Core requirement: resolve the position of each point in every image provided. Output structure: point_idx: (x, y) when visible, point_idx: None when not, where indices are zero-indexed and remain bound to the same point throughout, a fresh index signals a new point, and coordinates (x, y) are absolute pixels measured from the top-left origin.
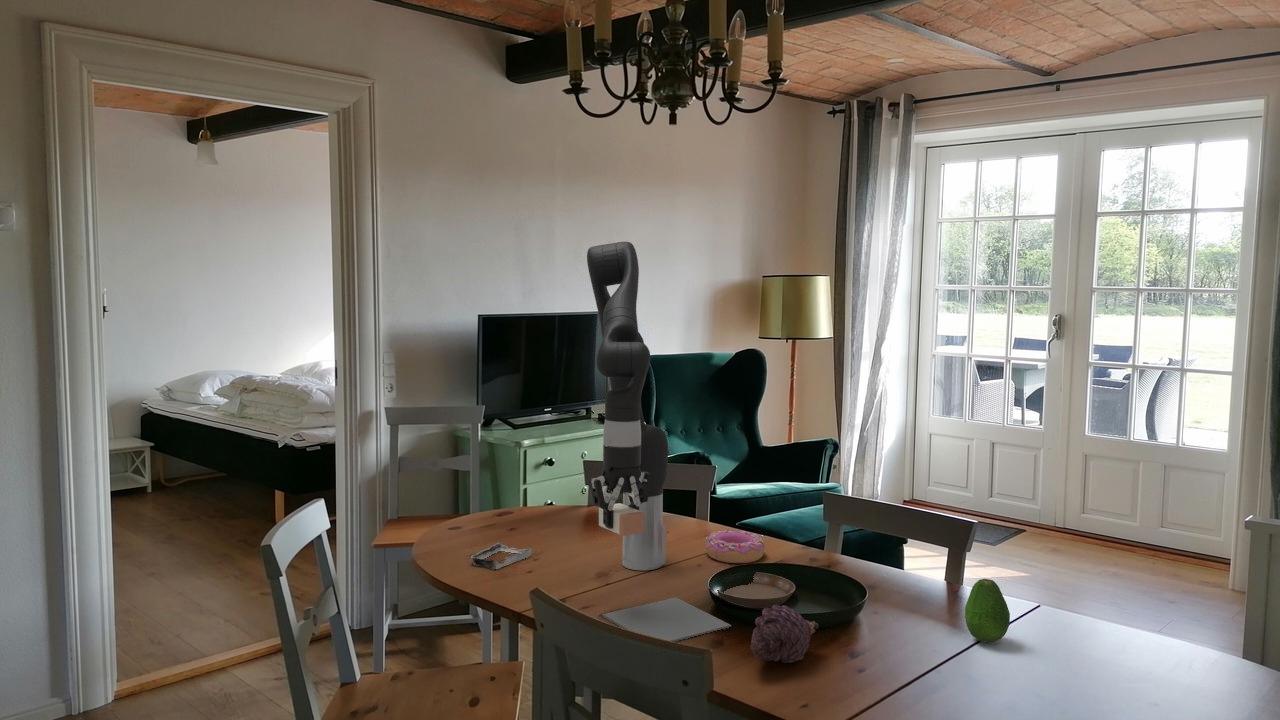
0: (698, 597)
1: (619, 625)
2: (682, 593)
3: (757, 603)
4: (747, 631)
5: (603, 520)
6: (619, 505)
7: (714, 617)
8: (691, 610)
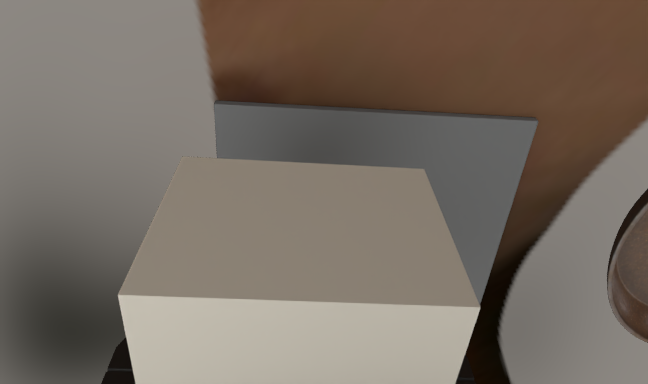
0: (610, 142)
1: None
2: (610, 78)
3: (630, 315)
4: (475, 364)
5: (110, 369)
6: (383, 381)
7: (479, 295)
8: (475, 231)
